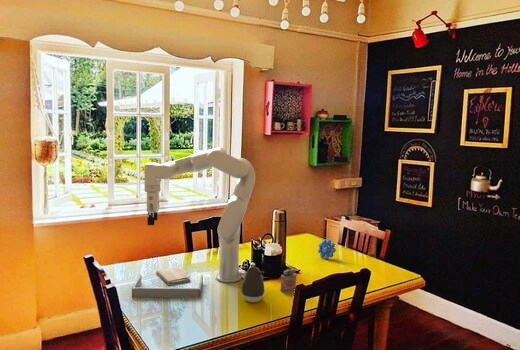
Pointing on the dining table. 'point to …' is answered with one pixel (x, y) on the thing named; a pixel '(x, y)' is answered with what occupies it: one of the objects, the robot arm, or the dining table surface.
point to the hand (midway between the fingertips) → (152, 222)
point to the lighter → (288, 281)
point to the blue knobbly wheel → (326, 249)
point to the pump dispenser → (253, 285)
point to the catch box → (165, 291)
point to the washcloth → (173, 275)
